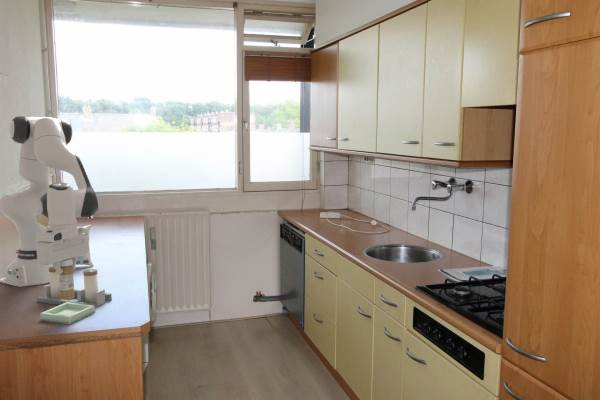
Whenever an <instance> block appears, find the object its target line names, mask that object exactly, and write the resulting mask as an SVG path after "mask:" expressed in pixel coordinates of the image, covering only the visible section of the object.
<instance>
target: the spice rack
mask: <svg viewBox="0 0 600 400" xmlns="http://www.w3.org/2000/svg"><path fill="white" fill-rule="evenodd" d="M105 291H106V290H105V289H100V290H99V289H98V291H97V292H95V303H96V304H94V303H86V302H85V287H82V288H80V289H76V288H74V296H75V297H74V298H77V301H76V300H72V299H68V300H62V299H55V298H51V292H50V283H49V284H46V285H44V286H43V293H44V294H43V296H38V297H37V298H36V300H37V302H38V303H43V304H51V305H58V306H59V305H61V304H64V303H66V302H70V303H78V304H85V305H93V306H95V307H96V306H97V307H98V306H101V305H103V304H106V302H110V301H112V300H113V297H112V293H111V292H110V293H109V292H105ZM60 297H61V296H60Z"/></svg>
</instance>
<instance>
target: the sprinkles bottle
mask: <svg viewBox="0 0 600 400" xmlns="http://www.w3.org/2000/svg"><path fill="white" fill-rule="evenodd" d="M59 266H60V267H61V268H63V273H62V274H60V275H59V283H60V296H61V297H60V299H62V300H68V299H69V300H72V299H74V298H76V297H75V296H74V289H75V284H74V283H75V281H74V272H73V271H74V270H73V268H72V266H73V260H72V259H66V260H63V261H60V265H59Z"/></svg>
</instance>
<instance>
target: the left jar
mask: <svg viewBox="0 0 600 400" xmlns="http://www.w3.org/2000/svg"><path fill="white" fill-rule="evenodd" d="M49 278H50V282H49V284H50V292H51V298H55V299H60V283H59V275H58V274H56V269H55V268H54V267H53V266H51V267H49Z"/></svg>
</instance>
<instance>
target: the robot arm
mask: <svg viewBox="0 0 600 400" xmlns="http://www.w3.org/2000/svg"><path fill="white" fill-rule="evenodd" d="M8 132H9V134H10V136H11V139H12V140H13V142H14V143H17V144H20V153H19V164H18V174H19V176H20V177H21V179H23V180H25V181H26V182H28V184H29V189H23V190H22V189H21V190H13V191H10V192H7V193H4V194H3V195H1V197H0V212H1V214H2V215H3V216H4V217H6V218H7V219H9V220H10V221H11V222H12V223H13V224H14V226H15V227H16V230H17V232H18V234H17V235H18V239H19V241H18V242H19V248H20V249H18V250H16V251H15V254H17V256H16V258H15V259H14V260H13V261H12V262H11V263H10V264H8V265H7V266H6V268H5V276H4V277H2V278H0V283H2V284H7V285H10V286H14V287H18V288H21V287H28V286H29V287H30V286H37V285H44V284H48V283H50V278H49V267H51V266H53V267H54V268H55V269H56V274H58V275H60V274H62V273H63V268H61V267H60V266H59V265H60V261H63V260H66V259H69V258H70V259H72V260H73V266H72V268H73V271H74V270H76V268H77V267H76V265H75V264H76V262H77V260H78V256H79V255H82V254H85V253H88V251H89V249H90V241H89V242H88V237H87V234H86V230H85V229H84V228H82V227H83V226H79V227H80V228H77V227H78V220H77V218H92V217H93V216H94V215H95V214H96V213H97V212H98V211H99V199H98V195H97V194H96V192H95V190H94V188H93V187H92V184H91V181H90V179H89V177H88V175H87V172H86V169H85V167H84V164H83V162H82V161H81V158H80V157H79V155H78V154H77V153H75V152H74V151H72V150H71V149H70V148H69V147H68V144H70V142H71V140H72V139H73V129H72V124H71V123H70V122H69V121H68V120H66V119H62V118H60V119H57V118H55V117H54V118H53V117H48V116H24V115H20V116H15V117H14V118H12V119H11V122H10V125H9V131H8ZM50 169H54V170H59V171H63V172H66V173H68V174H69V175H70V176H72V177H73V179H74V182H75V184H76V187H77V188H78V189H74V188H73V187H74V186H73V185H72V184H70V183H67V182H54V183H52V181H51V178H50ZM38 215H39V216H40V215H42V216H44V217H45V218H47V219H48V222H47V226H48V228H47V226H45V225H44V224H41V223H39V222H38V220H37V216H38Z"/></svg>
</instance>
